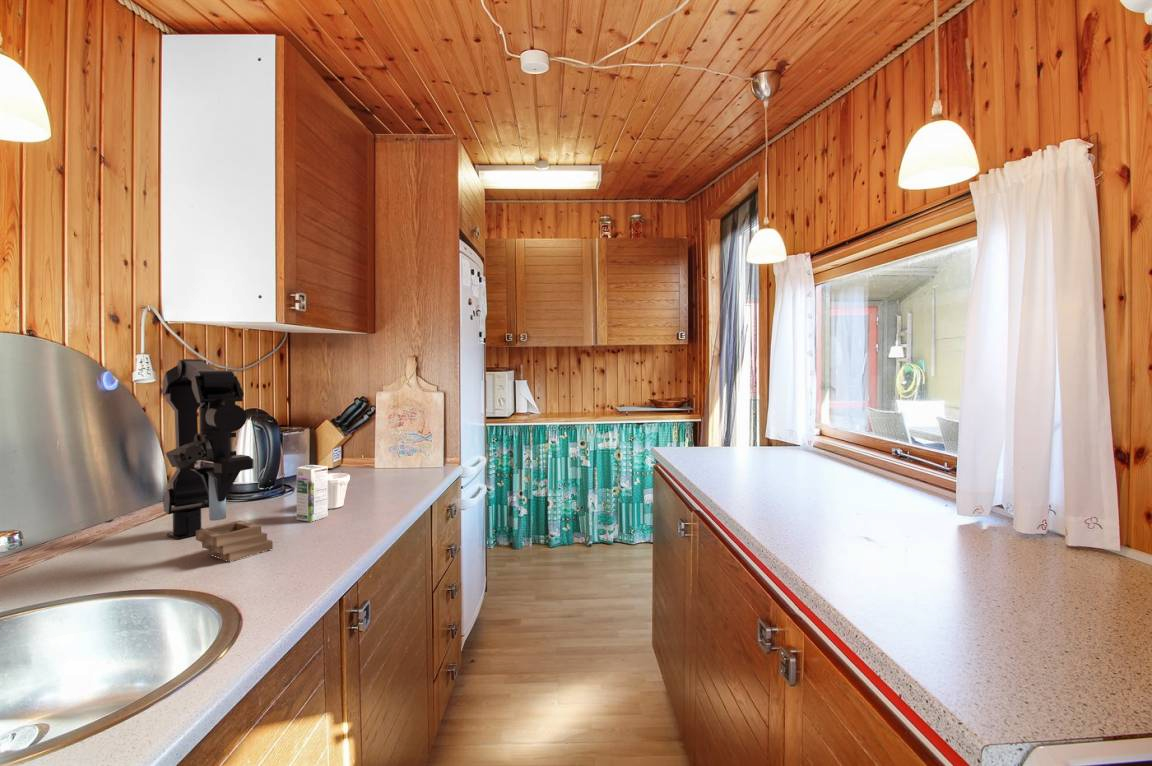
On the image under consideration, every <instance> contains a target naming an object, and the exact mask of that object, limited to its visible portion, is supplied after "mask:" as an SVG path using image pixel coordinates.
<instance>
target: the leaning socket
mask: <svg viewBox="0 0 1152 766" xmlns="http://www.w3.org/2000/svg"><path fill="white" fill-rule="evenodd" d="M195 541H198V542H201V545H202V546H201V548H202V549H206V550H208V555H209V554H210V555H209V556H211V555H214V556H216V557H219V558H221V559H220V560H222V559H224V560H223V561H225V560H227V561H233V560H236V561H238V560H237V559H239V560H241V559H240V558H243V559H245V558H244V557H246V558H248V557H247V556H249V557H251V556H250V555H253V556H255V555H254V554H256V555H258V554H257V553H260V552H263V551H266V550H270V549H273V548H274V547H273V542H274V541H273V540H270V539H268V533H266V532H262V526H261V525H258V524H255V523H251V522H247V521H243V520H236V521H232V522H226V523H223V524H219V525H218V524H217V525H215V526H212V527H211V526H210V527H206V528H203V529H201V530H197V531H196V535H195ZM270 551H271V550H270ZM266 552H267V551H266ZM263 553H264V552H263ZM260 554H261V553H260ZM214 556H213V557H214ZM216 557H215V558H216ZM219 558H218V559H219ZM227 561H226V562H227ZM233 562H234V561H233Z"/></svg>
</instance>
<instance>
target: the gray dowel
mask: <svg viewBox="0 0 1152 766" xmlns="http://www.w3.org/2000/svg"><path fill="white" fill-rule="evenodd" d="M208 511H209V512H208V517H209V521H212V522H213V521H220V520H225V519H226V518H227V497H226V498H225V500H224V501H221V502H219V501H218V499H217V495H216V489H215V483H214V478H213V477H212V476H210V475H209V508H208Z"/></svg>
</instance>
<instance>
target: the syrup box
mask: <svg viewBox="0 0 1152 766" xmlns="http://www.w3.org/2000/svg"><path fill="white" fill-rule="evenodd" d="M328 467H329V466H328V465H318V464H317V465H316V464H307V465H303V466H299V467H298V466H297V467H296V521H304V522H309V523H312V521H313V522H316V521H318V520H321V519H325V518H328V516H329V515H328V514H329V513H328V511H329V510H328V474H329V473H328V469H329V468H328ZM315 520H316V521H315Z"/></svg>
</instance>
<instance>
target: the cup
mask: <svg viewBox="0 0 1152 766" xmlns="http://www.w3.org/2000/svg"><path fill="white" fill-rule="evenodd" d="M350 479H351V475H350V474H349V473H342V472H335V473H333V472H332V473H328V509H332V510H337V509H340V508H339V507H341V508H343V507H344V502H345V498H346V492H347V488H348V483H349V482H350ZM336 508H337V509H336Z"/></svg>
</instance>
